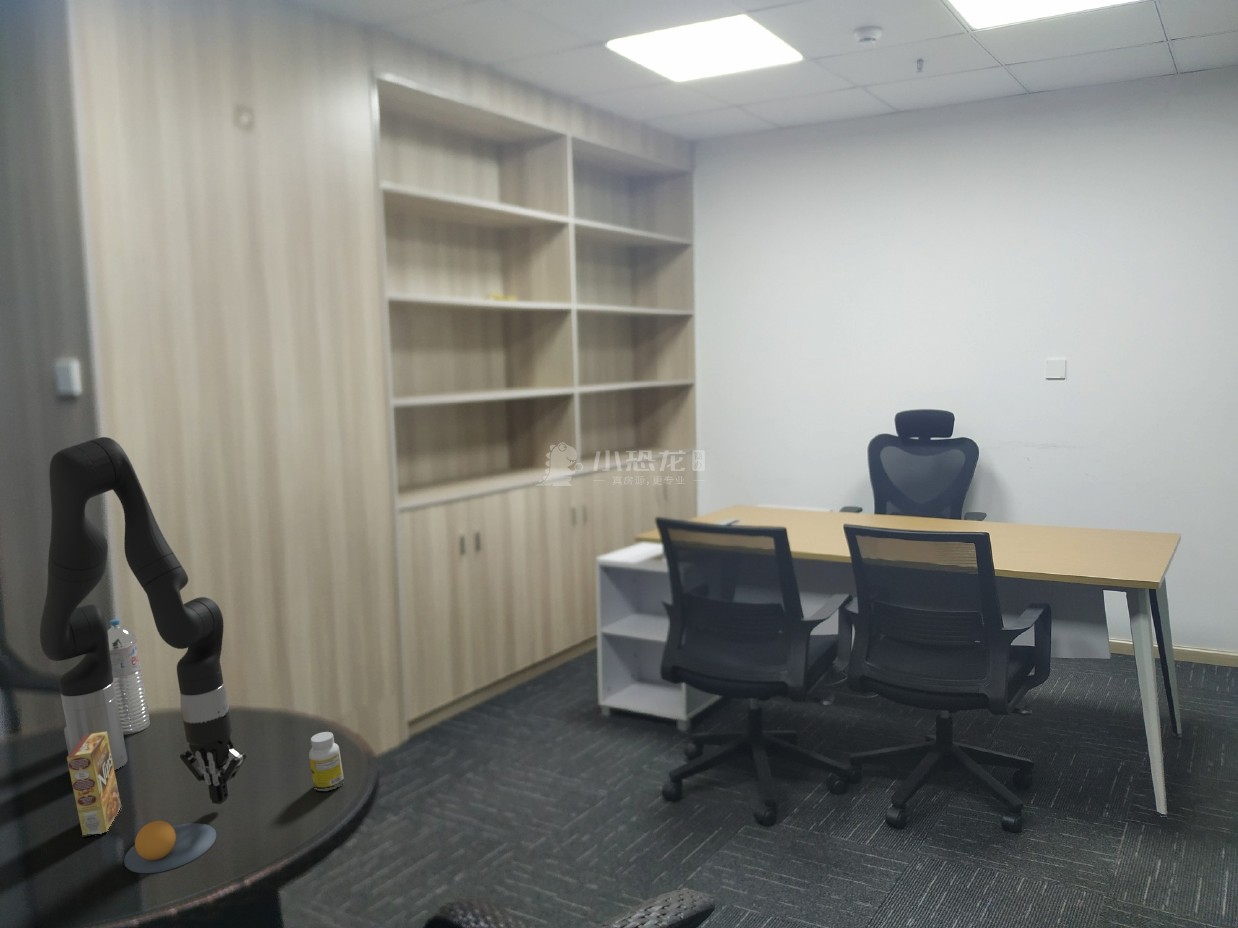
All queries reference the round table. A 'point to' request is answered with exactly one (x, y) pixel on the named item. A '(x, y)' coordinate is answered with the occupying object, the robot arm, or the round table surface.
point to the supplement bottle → (325, 761)
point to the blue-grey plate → (175, 849)
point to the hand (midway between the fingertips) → (220, 801)
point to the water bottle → (127, 679)
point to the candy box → (94, 783)
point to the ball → (155, 840)
